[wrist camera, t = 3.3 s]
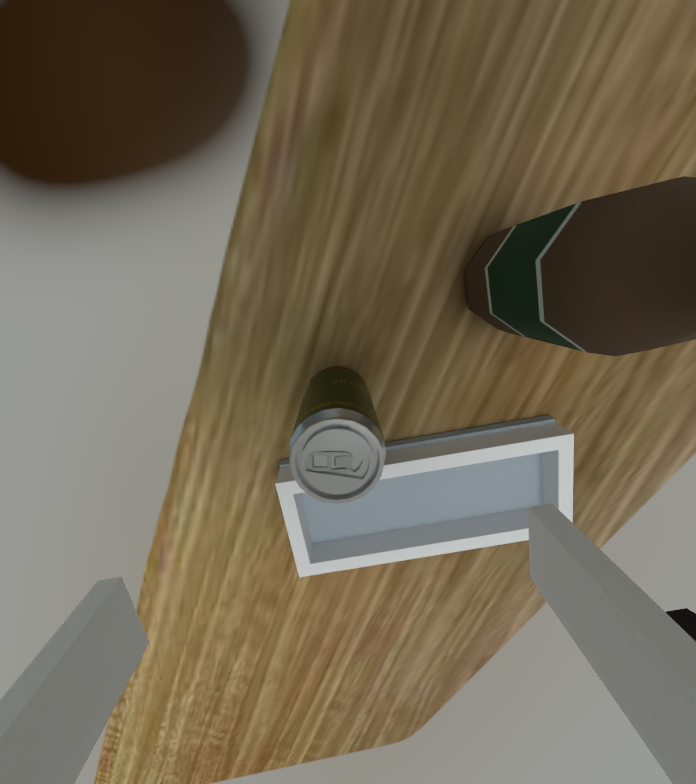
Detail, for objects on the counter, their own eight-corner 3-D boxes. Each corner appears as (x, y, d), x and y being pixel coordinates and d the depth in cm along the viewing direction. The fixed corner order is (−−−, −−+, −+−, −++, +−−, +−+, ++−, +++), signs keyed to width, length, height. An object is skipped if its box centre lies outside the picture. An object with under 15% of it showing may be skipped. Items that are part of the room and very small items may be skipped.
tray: (281, 460, 31) (274, 480, 28) (547, 414, 31) (573, 430, 27) (303, 551, 34) (300, 579, 31) (548, 511, 34) (572, 535, 30)
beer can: (305, 424, 30) (286, 506, 19) (305, 364, 29) (284, 413, 17) (367, 426, 31) (385, 508, 19) (370, 365, 29) (392, 415, 18)
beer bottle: (571, 236, 27) (2011, -93, 4) (540, 337, 29) (1335, 520, 6) (474, 217, 26) (1471, -309, 3) (449, 321, 28) (939, 458, 5)
